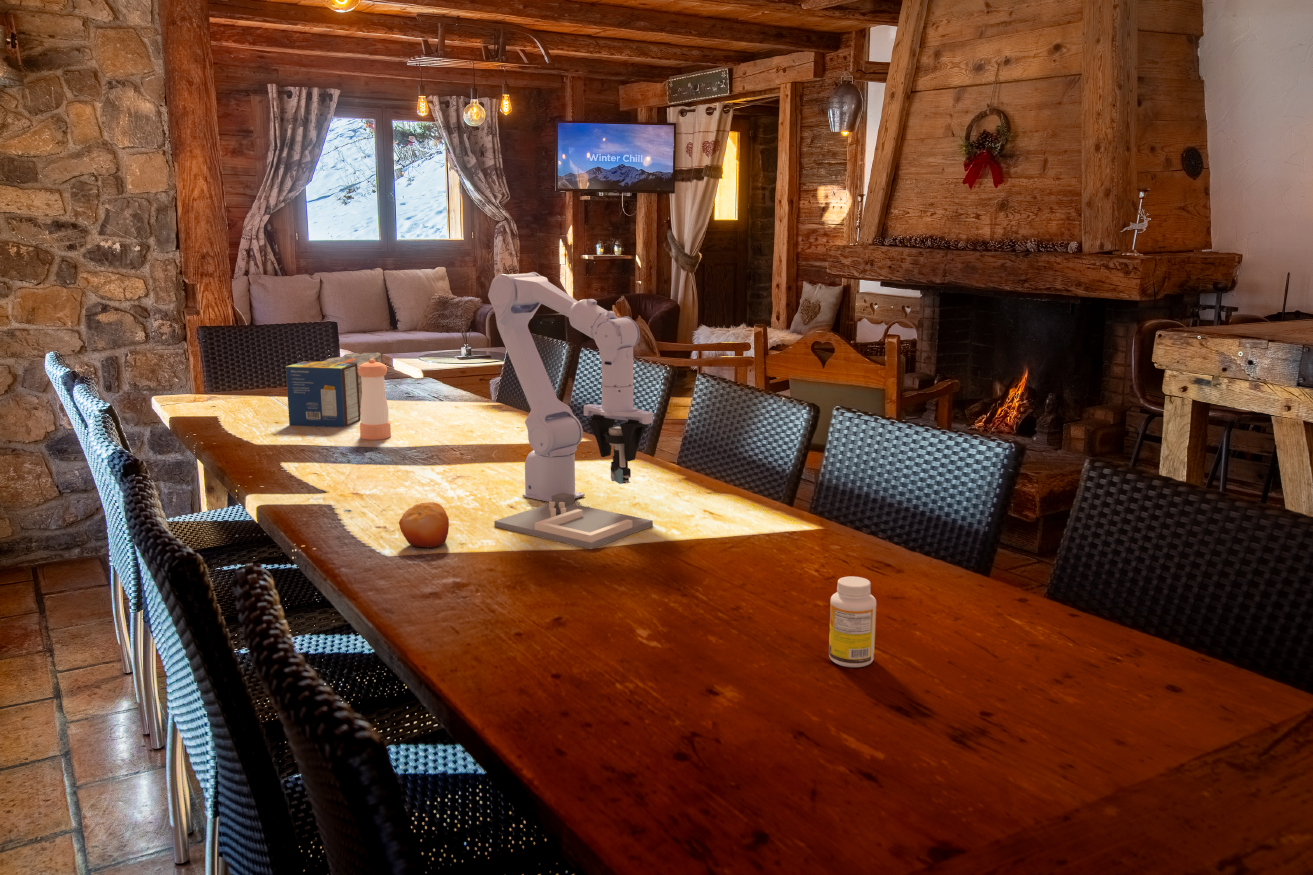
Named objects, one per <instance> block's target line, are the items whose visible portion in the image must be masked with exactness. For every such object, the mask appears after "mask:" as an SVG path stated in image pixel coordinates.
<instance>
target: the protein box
mask: <svg viewBox="0 0 1313 875" xmlns="http://www.w3.org/2000/svg"><path fill="white" fill-rule="evenodd" d="M357 371H358V366H357V362H322V361H310V360H309V361H306V360H305V361H304V360H303V361H300V362H297V363H293V364H290V365H286V366H285V376H286V390H287V407H288V408H287V409H288V423H289V424H288V425H289V426H296V427H298V426H299V427H320V428H321V427H326V428H346V427H348V426H350V425H352V424H354V423H356V422H359V421H361V411H360V409H361V408H360V400H359V384H358V372H357Z"/></svg>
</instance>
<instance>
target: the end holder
mask: <svg viewBox="0 0 1313 875" xmlns="http://www.w3.org/2000/svg"><path fill="white" fill-rule="evenodd" d="M580 517H583V511H582V510H580V509H576V510H573V511H569V512H566V513H563V514H560V515H557V516H554V517H551V518H548V519H545V520H542V521H539V522H536V523H535V530H539V531H543V532H547V533H552V534H556V535H560V536H564V537H569V538H573V539H577V540H582V541H586V542H590V543H591V542H594V541H597V540H599V539H602V538H605V537H607V536H610V535H613V534H615V533H618V532H621V531H624V530H626V529H629V528H632V520H628V519H626V520H624V521H621V522H618V523H615V524H613V525H610V526H607V527H604V528H601V529H599V530H596V531H593V532H590V533H589V532H585V531H580V530H576V529H571V528H567V527H563V526H558V525H559V524H562V523H565V522H568V521H571V520H574V519H577V518H580Z"/></svg>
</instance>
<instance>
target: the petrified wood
mask: <svg viewBox="0 0 1313 875" xmlns="http://www.w3.org/2000/svg"><path fill="white" fill-rule="evenodd" d="M370 359H374V360H375V362H380V363H382V354H381V353H380V352H361V353H356V352H355V353H354V352H353V353H352V352H351V353H345V354H344V355H343V356H338V357H329V358H327V359H324V360H323V361H321V362H357V366H358V368H359V366H360V365H361V364H363V363H367V362H369V360H370ZM382 364H383V363H382ZM361 377H362V376H359V374H358V384H359V400H360V409H361V399H362V381H361Z"/></svg>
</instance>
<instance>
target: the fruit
mask: <svg viewBox="0 0 1313 875" xmlns="http://www.w3.org/2000/svg"><path fill="white" fill-rule="evenodd" d="M449 519H450V518H449V516H448V513H447V512H446V510H445V508H444V507H443V506H442V505H441V504H440V503H438V502H433V501H432V502H420V503H416V504H414V505H413V506H411V507H410V508H408V509H407V510H406V511H405V512H404V513H403V514H402V516H401V518H400V519H399V521H398V524H399V525H398V526H399V529H400V532H401V533H402V535H403V537H404V538H405V540H406V542H407V543H408V544H409V545H410V546H411V547H416V548H433V549H434V548H438V547H440V546H442V545H444V544H445V543H446V541H447V539H448V535H449V530H450V529H449V527H450V521H449Z"/></svg>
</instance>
